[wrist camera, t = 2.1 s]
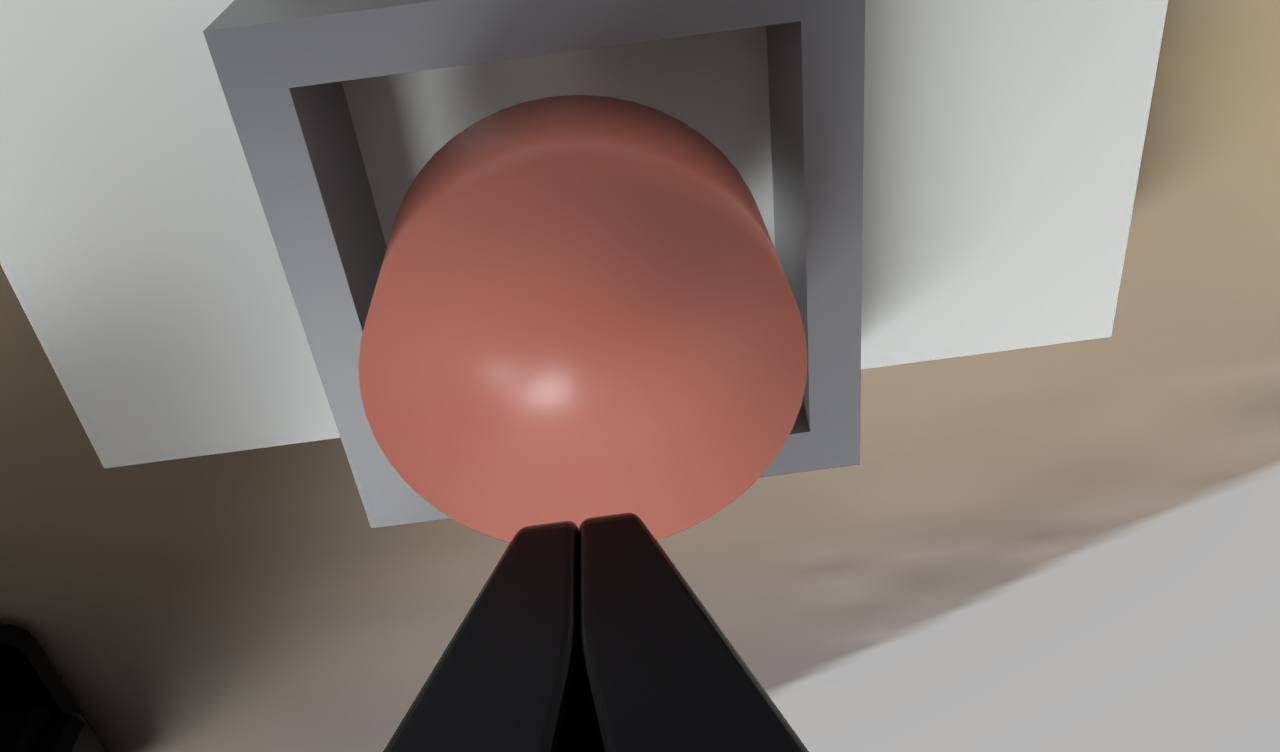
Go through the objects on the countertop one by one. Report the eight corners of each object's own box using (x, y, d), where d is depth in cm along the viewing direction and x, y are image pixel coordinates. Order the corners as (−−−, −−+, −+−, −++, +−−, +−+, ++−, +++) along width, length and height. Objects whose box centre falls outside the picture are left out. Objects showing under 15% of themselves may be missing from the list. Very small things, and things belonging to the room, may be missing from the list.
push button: (434, 453, 12) (415, 575, 10) (343, 124, 10) (300, 211, 8) (774, 409, 12) (811, 523, 10) (759, 68, 10) (803, 146, 8)
